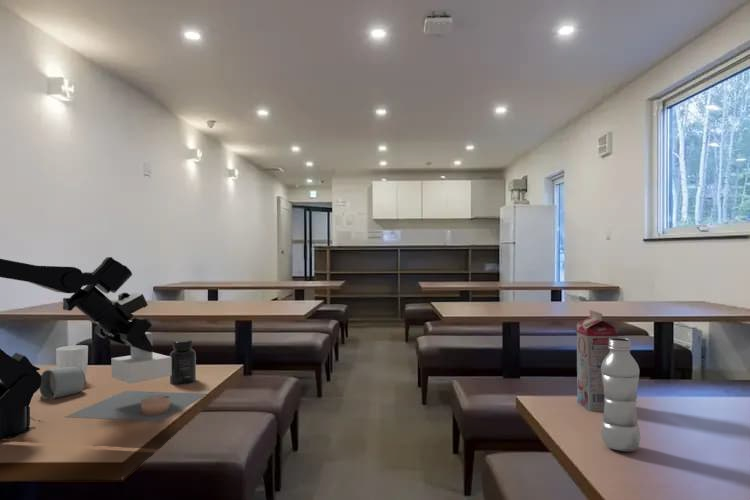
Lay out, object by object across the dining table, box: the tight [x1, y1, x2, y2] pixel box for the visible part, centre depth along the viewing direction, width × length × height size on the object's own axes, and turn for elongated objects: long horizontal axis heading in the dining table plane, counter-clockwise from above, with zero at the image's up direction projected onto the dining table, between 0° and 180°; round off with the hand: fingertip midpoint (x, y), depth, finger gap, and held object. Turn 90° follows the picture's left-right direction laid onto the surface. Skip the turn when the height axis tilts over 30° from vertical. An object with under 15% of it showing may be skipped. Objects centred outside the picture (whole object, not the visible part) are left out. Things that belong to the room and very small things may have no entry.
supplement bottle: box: [169, 338, 197, 386], centre depth 142 cm, size 7×7×12 cm
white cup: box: [55, 344, 89, 383], centre depth 143 cm, size 8×8×10 cm
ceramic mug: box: [38, 367, 86, 400], centre depth 131 cm, size 11×8×8 cm
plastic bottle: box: [600, 337, 641, 452], centre depth 92 cm, size 6×7×20 cm
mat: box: [65, 390, 208, 422], centre depth 120 cm, size 21×23×1 cm
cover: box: [110, 331, 172, 384], centre depth 123 cm, size 10×10×10 cm
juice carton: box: [576, 309, 618, 412], centre depth 118 cm, size 7×7×22 cm
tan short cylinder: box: [141, 395, 170, 416], centre depth 115 cm, size 6×6×3 cm
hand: (147, 349), depth 124 cm, fingers closed on cover, 5 cm apart
